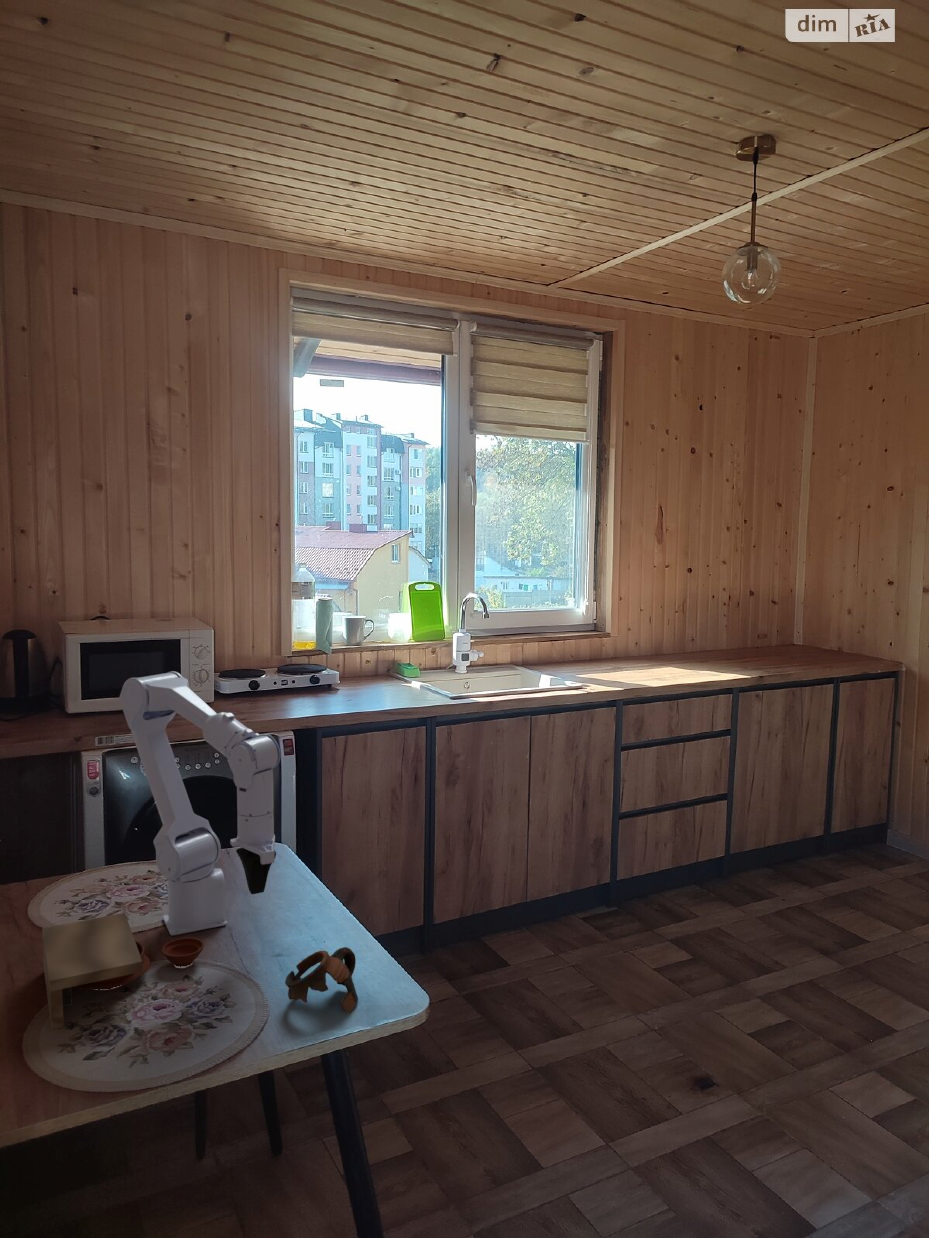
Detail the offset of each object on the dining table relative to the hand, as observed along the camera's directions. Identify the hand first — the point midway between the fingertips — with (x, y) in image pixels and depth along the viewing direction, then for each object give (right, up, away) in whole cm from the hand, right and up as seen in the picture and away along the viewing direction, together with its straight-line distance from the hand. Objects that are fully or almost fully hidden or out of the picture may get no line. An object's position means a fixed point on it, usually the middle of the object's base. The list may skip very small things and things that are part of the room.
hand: (256, 891), depth 145 cm
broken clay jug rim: (+14, -12, -15) cm, 23 cm away
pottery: (-16, -11, -8) cm, 21 cm away
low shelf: (-22, -11, -13) cm, 27 cm away
